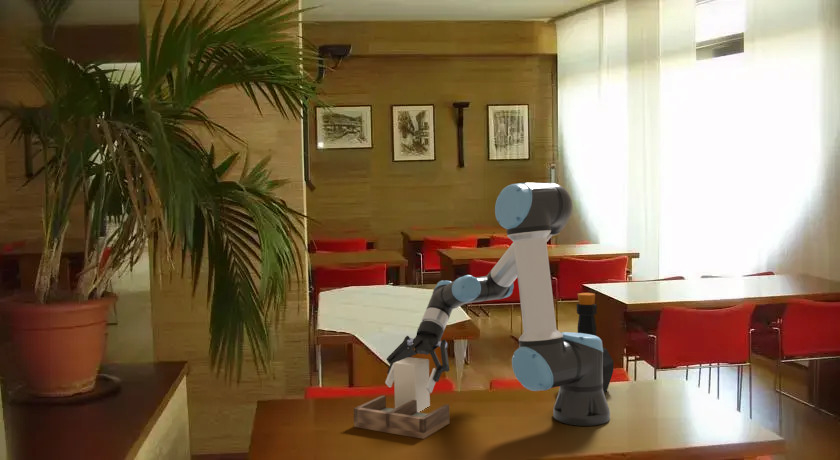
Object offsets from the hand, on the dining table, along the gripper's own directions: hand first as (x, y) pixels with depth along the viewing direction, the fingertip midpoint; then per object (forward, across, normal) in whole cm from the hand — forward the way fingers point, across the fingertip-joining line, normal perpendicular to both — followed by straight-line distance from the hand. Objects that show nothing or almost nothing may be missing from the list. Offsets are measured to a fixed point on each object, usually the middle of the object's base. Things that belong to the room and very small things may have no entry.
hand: (407, 387), depth 214 cm
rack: (+13, -5, +4) cm, 15 cm away
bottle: (-26, -39, -35) cm, 58 cm away
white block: (+3, 0, -6) cm, 7 cm away
